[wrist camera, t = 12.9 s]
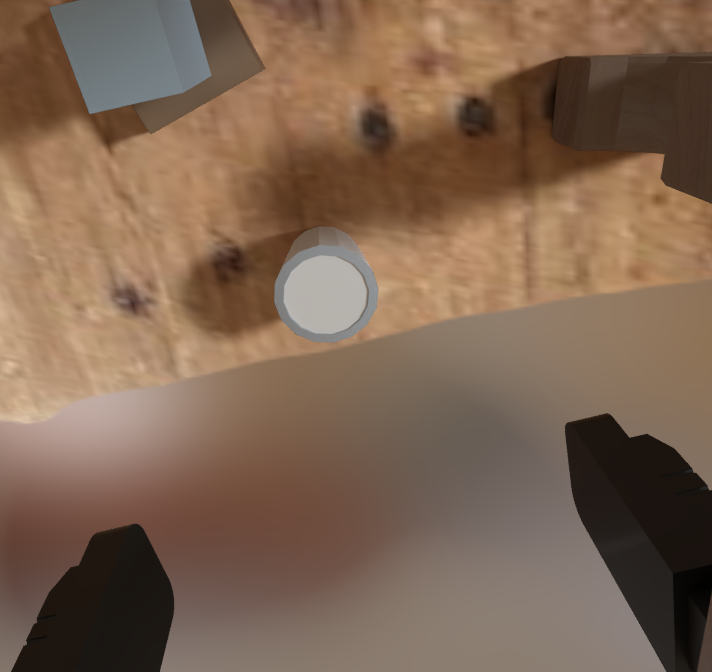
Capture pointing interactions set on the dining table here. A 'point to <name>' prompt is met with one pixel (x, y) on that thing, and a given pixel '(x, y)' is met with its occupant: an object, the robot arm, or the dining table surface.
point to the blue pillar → (131, 49)
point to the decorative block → (641, 111)
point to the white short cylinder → (325, 286)
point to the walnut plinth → (225, 59)
